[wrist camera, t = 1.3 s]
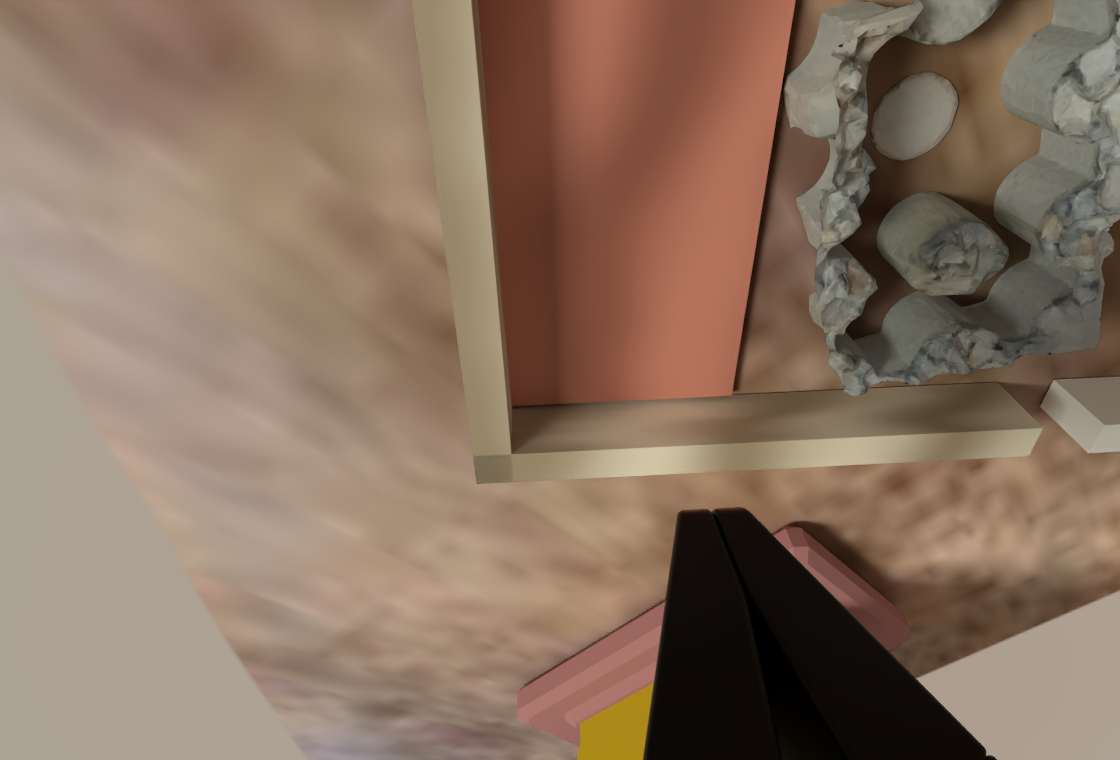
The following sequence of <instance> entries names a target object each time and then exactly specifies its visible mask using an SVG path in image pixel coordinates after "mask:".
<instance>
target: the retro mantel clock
mask: <svg viewBox="0 0 1120 760" xmlns="http://www.w3.org/2000/svg"><path fill="white" fill-rule="evenodd" d="M772 535H773V536H774V537H775V538H776V539H777V540H778V541H779V542H780V543H781V544H782V545H783V546H784V547H785V548H786V549H787V550H788V551H789V552H790V553H791V554H792V555H793V556H794V557H795V558H796V559H797V560H798V561H799V562H800V563H801V564H802V565H803V566H804V567H805V568H806V569H807V570H808V571H809V572H810V573H811V574H812V575H813V576H814V577H815V578H816V579H817V580H818V581H819V582H820V583H821V584H822V585H823V586H824V587H825V588H826V589H827V590H828V591H829V592H830V593H831V594H832V595H833V596H834V597H835V598H836V599H837V600H838V601H839V602H840V603H841V604H842V605H843V606H844V607H845V608H846V609H847V610H848V611H849V612H850V613H851V614H852V615H853V616H854V617H855V618H856V619H857V620H858V621H859V622H860V623H861V624H862V625H863V626H864V627H865V628H866V629H867V630H868V631H869V632H870V633H871V634H872V635H873V636H874V637H875V638H876V639H877V640H878V641H879V642H880V643H881V644H882V645H883V646H884V647H885V648H886V649H887V650H888V651H889V650H891V649H893V648H895V647H898V646H899V645H900V644H901V643H902V642H903V641H904V640H905V639H906V638H907V637H908V635H909V633H910V631H911V628H910V626H909V624H908V623H907V621H906V619H905V617H904V615H903V613H902V612H901V611H900V610H899V609H898V608H897V607H895V606H894V605H893V604H892V603H891V602H889V601H888V600H887V599H886V598H885V597H883V596H882V595H881V594H880V593H879V592H877V591H876V590H875V589H874V588H873V587H871V586H870V585H869V584H868V583H867V582H865V581H864V580H863V579H862V578H861V577H859V576H858V575H857V574H856V573H855V572H853V571H852V570H851V569H850V568H849V567H847V566H846V565H845V564H844V563H843V562H841V561H840V560H839V559H838V558H837V557H835V556H834V555H833V554H832V553H831V552H829V551H828V550H827V549H826V548H825V547H823V546H822V545H821V544H820V543H819V542H817V541H816V540H815V539H814V538H812V537H811V536H810V535H809V534H808V533H806V532H805V531H804V530H803V529H802V528H799V527H794V526H789V525H787V526H785V527H784V528H782V529H780V530H779V531H777V532H775V533H774V534H772ZM664 606H665V601H663V602H662V603H660V604H658V605H657V606H655V607H653V608H652V609H650V610H648V611H647V612H645V613H643V614H642V615H640V616H639V617H637V618H635V619H634V620H632V621H630V622H629V623H627V624H625V625H624V626H622V627H621V628H619V629H617V630H616V631H614V632H612V633H611V634H609V635H607V636H606V637H604V638H603V639H601V640H599V641H598V642H596V643H594V644H593V645H591V646H589V647H588V648H586V649H584V650H583V651H581V652H580V653H578V654H576V655H575V656H573V657H571V658H570V659H568V660H566V661H565V662H563V663H562V664H560V665H558V666H557V667H555V668H553V669H552V670H550V671H548V672H547V673H545V674H543V675H542V676H540V677H539V678H537V679H535V680H534V681H532V682H530V683H529V684H527V685H525V686H524V687H523V688H521V689H520V690H519V691H518V692H517V712H518V717H519V718H520V719H522V720H524V721H525V722H527V723H528V724H530V725H533V726H535V727H537V728H539V729H542V730H544V731H546V732H548V733H551V734H553V735H555V736H557V737H560V738H562V739H564V740H566V741H569V742H571V743H573V744H575V745H578V746H579V751H578V757H577V760H643V754H644V747H645V740H646V733H647V726H648V719H649V712H650V705H651V698H652V691H653V684H654V677H655V670H656V663H657V656H658V649H659V642H660V634H661V627H662V620H663V613H664Z"/></svg>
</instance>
